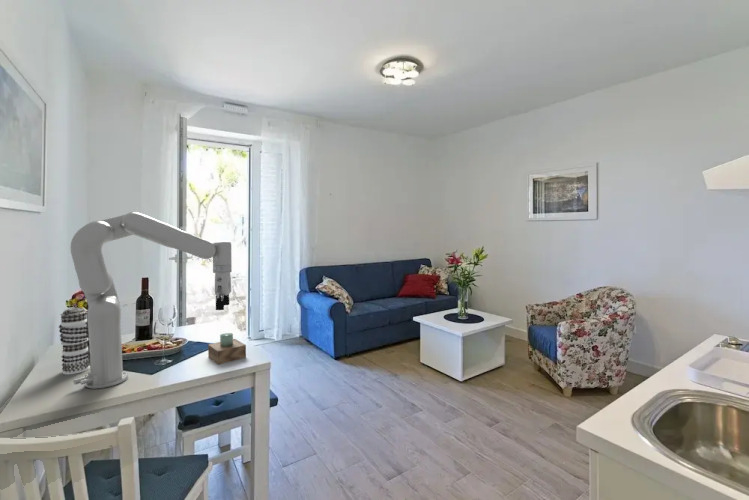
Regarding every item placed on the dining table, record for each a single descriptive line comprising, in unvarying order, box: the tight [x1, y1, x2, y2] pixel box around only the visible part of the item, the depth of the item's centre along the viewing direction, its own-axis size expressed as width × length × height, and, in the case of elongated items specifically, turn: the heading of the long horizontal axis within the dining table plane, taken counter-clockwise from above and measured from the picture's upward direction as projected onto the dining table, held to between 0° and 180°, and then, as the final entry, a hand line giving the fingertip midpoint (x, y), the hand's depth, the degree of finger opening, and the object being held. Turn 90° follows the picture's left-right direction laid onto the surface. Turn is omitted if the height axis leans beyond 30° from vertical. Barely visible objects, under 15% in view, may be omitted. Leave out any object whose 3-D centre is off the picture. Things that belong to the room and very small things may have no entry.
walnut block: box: [207, 338, 247, 365], centre depth 155 cm, size 12×12×6 cm
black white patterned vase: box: [58, 307, 90, 375], centre depth 140 cm, size 9×9×25 cm
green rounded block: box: [219, 332, 234, 347], centre depth 155 cm, size 5×5×4 cm
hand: (222, 307), depth 153 cm, fingers open, 9 cm apart
